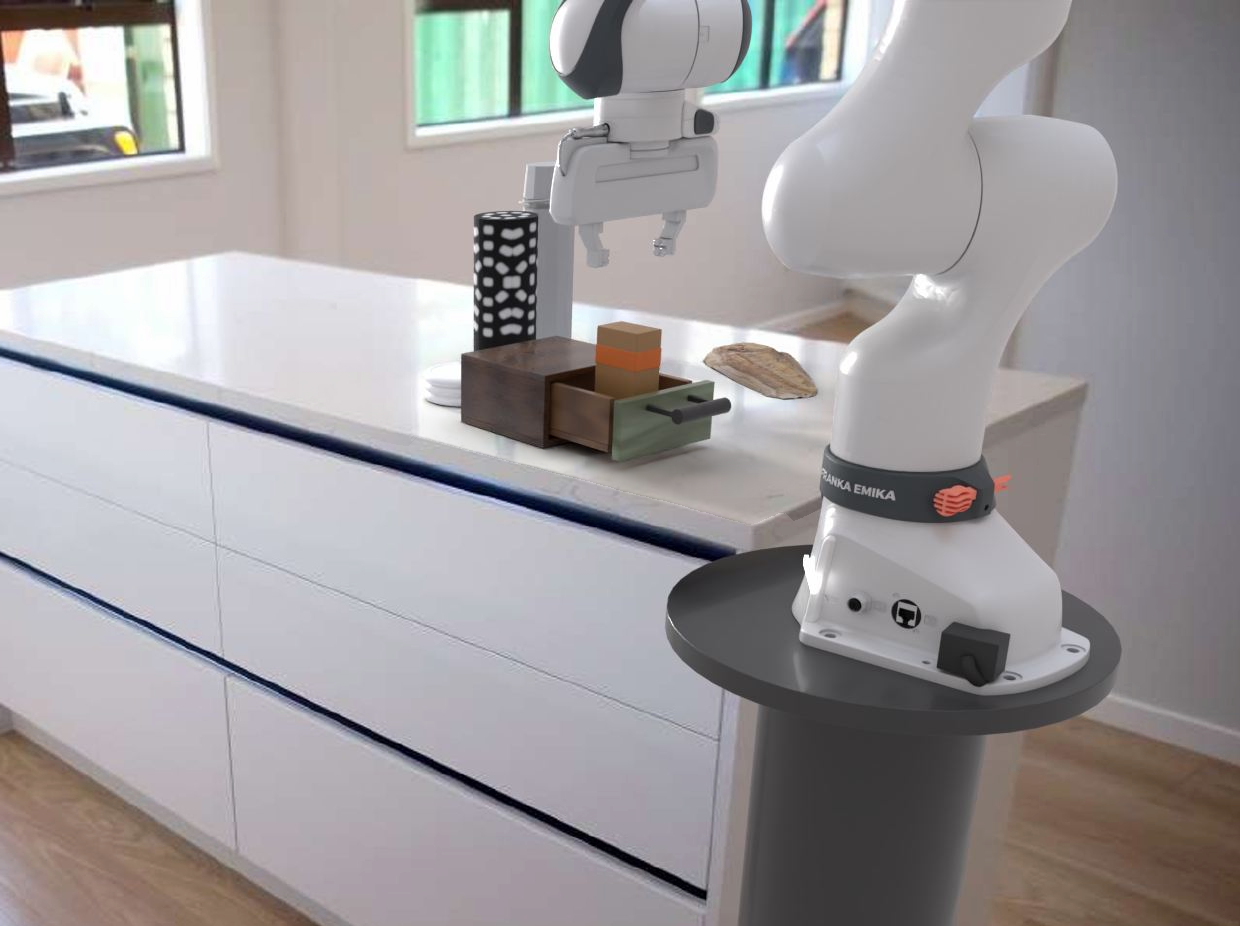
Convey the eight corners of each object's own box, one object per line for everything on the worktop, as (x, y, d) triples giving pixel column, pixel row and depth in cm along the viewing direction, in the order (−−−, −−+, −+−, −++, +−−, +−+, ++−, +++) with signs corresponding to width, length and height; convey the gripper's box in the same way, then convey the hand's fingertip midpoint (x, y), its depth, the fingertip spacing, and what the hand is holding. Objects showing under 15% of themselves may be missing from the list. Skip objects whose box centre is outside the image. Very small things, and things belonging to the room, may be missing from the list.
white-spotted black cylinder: (547, 365, 191) (550, 212, 183) (513, 378, 185) (515, 221, 177) (495, 358, 196) (496, 209, 188) (461, 370, 190) (461, 217, 182)
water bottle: (582, 349, 199) (588, 164, 189) (529, 354, 197) (533, 168, 188) (556, 336, 207) (560, 158, 197) (505, 341, 206) (508, 162, 196)
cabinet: (640, 425, 162) (643, 355, 159) (542, 448, 155) (544, 375, 152) (554, 401, 174) (556, 335, 170) (460, 421, 167) (460, 353, 163)
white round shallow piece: (408, 401, 176) (407, 373, 175) (453, 384, 183) (453, 357, 182) (475, 411, 170) (475, 383, 169) (519, 393, 177) (519, 366, 176)
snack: (657, 430, 152) (662, 329, 148) (631, 436, 151) (637, 334, 146) (617, 419, 157) (621, 320, 153) (592, 425, 155) (596, 325, 151)
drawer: (748, 449, 148) (753, 390, 146) (656, 473, 142) (660, 412, 140) (622, 414, 163) (624, 360, 161) (533, 435, 157) (534, 379, 154)
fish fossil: (849, 394, 171) (850, 385, 170) (769, 407, 170) (769, 398, 169) (757, 345, 194) (757, 337, 193) (686, 356, 193) (686, 348, 192)
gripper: (581, 129, 134) (576, 277, 140) (732, 114, 144) (722, 253, 149) (538, 127, 139) (534, 269, 145) (686, 112, 149) (678, 246, 154)
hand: (631, 261), depth 147 cm, fingers open, 8 cm apart
